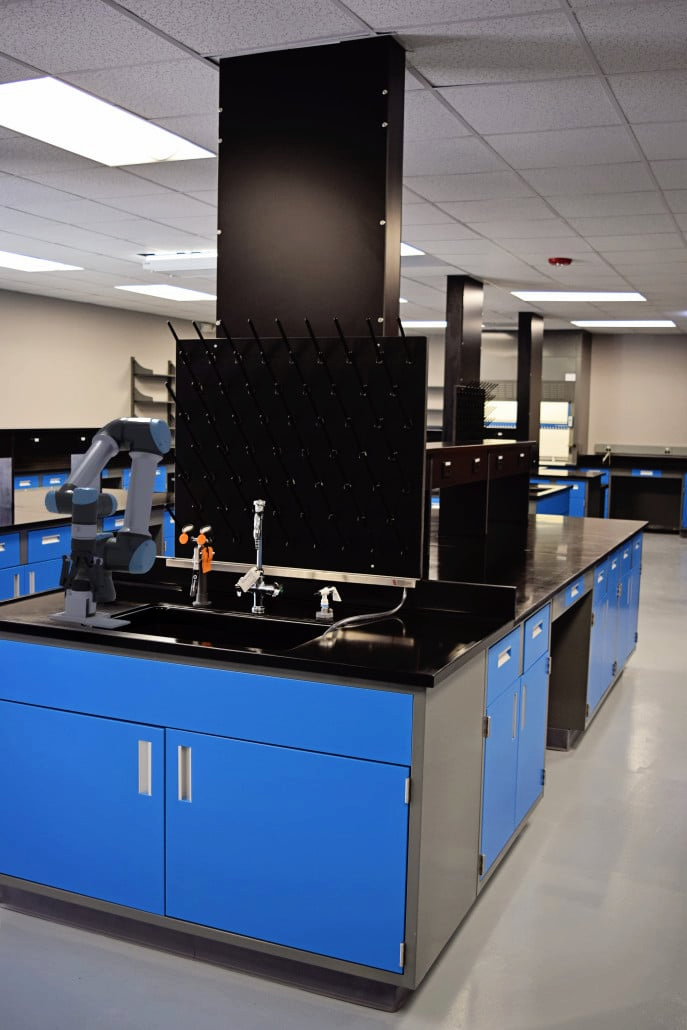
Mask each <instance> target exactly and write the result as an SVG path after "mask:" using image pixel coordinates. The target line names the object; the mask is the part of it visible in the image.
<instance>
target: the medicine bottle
mask: <svg viewBox="0 0 687 1030" xmlns="http://www.w3.org/2000/svg"><path fill="white" fill-rule="evenodd" d="M71 589H72V591H71V593H72V595H68V596H66V599H65V598H64V600H65V601H64V604H65V605H64V612H65V616H70V617H77V618H89V617H93V616H96V612H97V611H96V612H95V613H89V592H91V591H92V590H91V586H90V583H89V580H87V579H76V578H75V580H73V581H72V588H71ZM97 604H98V603H97V602H96V607H97Z"/></svg>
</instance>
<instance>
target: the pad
mask: <svg viewBox="0 0 687 1030" xmlns="http://www.w3.org/2000/svg"><path fill="white" fill-rule="evenodd" d="M82 624H83V625H84V626H85V625H86V626H89V627H90V626H92V627H98V628H105V629H114V628H115V629H116V628H118V627H122V626H126V625H130V624H131V621H130V620H122V619H115V618H99V619H95V620H91V621H87V622H83V623H82Z"/></svg>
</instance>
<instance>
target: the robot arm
mask: <svg viewBox="0 0 687 1030" xmlns="http://www.w3.org/2000/svg"><path fill="white" fill-rule="evenodd" d="M165 441H166V442H165ZM171 447H172V433H171V430H170V427H169V424H168V423H167V422H166V421H165V420H164V419H159V418H154V417H130V416H122V417H118V418H116V419H113V420H112V421H110V422H108V423H107V424H105V425H104V426H102V427H101V428H100V429H99V430H98V431H97V432H96V434H95V435H94V436H93V437H92V440H91V445H90V447H89V448H88V449H87V451H86V452H85V454H84V455H83V456H82V458H81V459H80V461H79V462H78V463H77V465H76V466H75V467H74V469H73V470H72V471H71V473H70V474H69V476H68V477H67V478H66V479H65V481H64V482H63V484H62V485H61V487H60V488H59V489H56V488H55V489H51V490H48V491H47V492H46V495H45V497H44V505H45V509H46V510H47V512H48V513H52V514H58V515H71V531H70V533H71V534H70V535H71V537H72V538H71V539H70V550H71V552H70V554H69V553H68V554H63V555H62V556H61V559H62V563H61V564H62V565H61V571H60V576H59V583H58V586H60V587H63V589H64V596H63V597H64V600H65V599H66V596H68V595H72V593H71V591H72V581H73V580H76V579H87V580H89V583H90V586H91V590H92V591H91V592H89V613H95V612H97V606H96V602H97V604H98V603H99V604H100V603H111V602H114V601H116V600H115V599H116V595H117V594H116V590H115V586H114V583H113V579H112V572H119V573H120V572H121V573H128V574H129V573H130V574H145V573H147V572H148V571H150V570H151V568H152V567H153V565H154V563H155V560H156V557H157V545H156V542H155V541H154V540H152V539H153V538H152V534H151V533H150V532H149V526H150V520H151V519H150V518H151V514H152V513H151V511H152V505H153V498H154V490H155V482H156V476H157V470H158V469H157V468H158V463H159V462H161V461H162V460H163V459H164V454H166V453H168V452H169V451H170V449H171ZM120 451H128V455H129V456H130V458H131V459H132V461H131V469H130V474H129V481H128V482H129V483H128V489H127V495H126V501H125V510H124V517H123V524H122V527H121V528H120V529H119V530H118V531H117V535H116V537H114V536H115V535H114V533H113V532H97V530H98V518H107V517H109V516H113V515H114V514H115V513H116V512H117V510H118V506H119V503H118V500H117V498H116V496H115V495H113V494H112V493H108V492H100V493H99V490H98V488H95V487H92V485H93V484H94V482H95V481H96V479H97V478H98V476H99V475H100V474H101V472H102V471H103V469H104V468H105V466H106V465H107V464H108V462H109V460H110V459H111V458H113V457H115V456H116V455H118V453H119V452H120ZM71 562H72V564H71ZM110 601H111V602H110Z"/></svg>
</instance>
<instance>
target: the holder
mask: <svg viewBox="0 0 687 1030" xmlns="http://www.w3.org/2000/svg"><path fill="white" fill-rule="evenodd" d="M111 616H112V614H111V612H110V613H108V612H102V611H96V616H93V617H89V618H77V617H70V616H65V611H62V612H56V613H53V614H50V615H49V619H50V620H56V621H63V622H64V621H65V622H69V623H70V622H71V623H79V624H83V622H87V621H91V620H95V619H99V618H109V619H111Z"/></svg>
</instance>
